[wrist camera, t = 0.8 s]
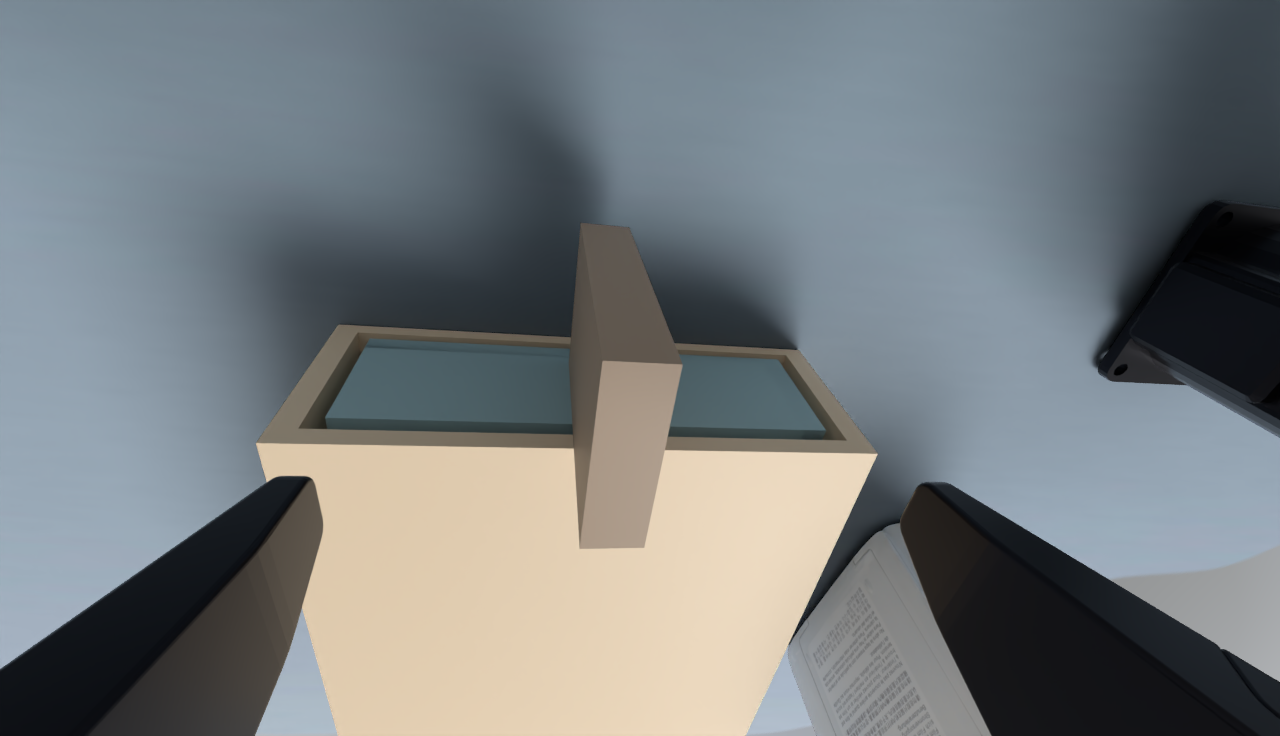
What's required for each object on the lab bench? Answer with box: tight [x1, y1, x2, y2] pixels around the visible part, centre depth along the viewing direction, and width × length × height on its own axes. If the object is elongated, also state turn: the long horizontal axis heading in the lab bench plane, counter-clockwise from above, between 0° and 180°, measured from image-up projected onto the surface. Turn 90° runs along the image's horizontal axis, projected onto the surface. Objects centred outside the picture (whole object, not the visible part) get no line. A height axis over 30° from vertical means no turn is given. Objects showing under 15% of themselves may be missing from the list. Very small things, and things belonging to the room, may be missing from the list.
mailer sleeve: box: [256, 324, 878, 736], centre depth 18 cm, size 14×15×5 cm
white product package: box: [788, 523, 991, 736], centre depth 21 cm, size 10×4×12 cm, turn 162°
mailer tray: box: [325, 223, 826, 549], centre depth 16 cm, size 12×18×7 cm, turn 172°
